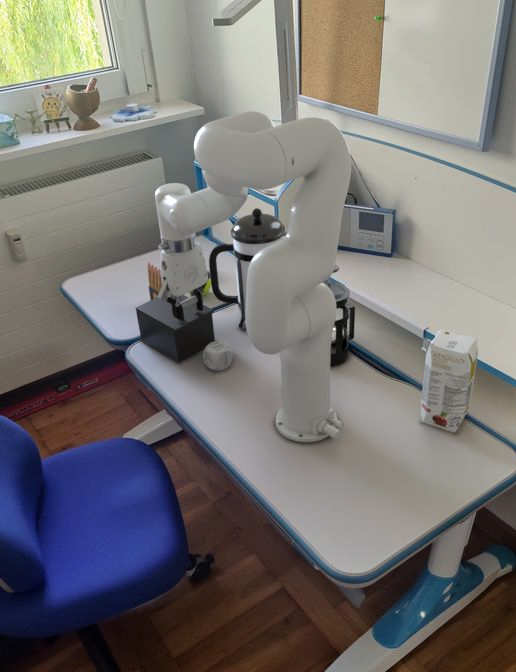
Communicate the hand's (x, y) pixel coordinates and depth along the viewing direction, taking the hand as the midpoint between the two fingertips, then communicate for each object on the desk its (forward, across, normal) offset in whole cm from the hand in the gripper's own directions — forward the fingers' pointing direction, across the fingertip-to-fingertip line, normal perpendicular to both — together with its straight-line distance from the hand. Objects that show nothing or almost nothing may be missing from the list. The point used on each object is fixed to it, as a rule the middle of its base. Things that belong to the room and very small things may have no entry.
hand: (188, 312), depth 153 cm
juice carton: (+11, +17, -58) cm, 61 cm away
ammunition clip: (+11, +8, +22) cm, 26 cm away
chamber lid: (+2, 0, +6) cm, 6 cm away
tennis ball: (+11, +19, +20) cm, 30 cm away
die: (+11, 0, -9) cm, 14 cm away
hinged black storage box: (+11, 0, +6) cm, 12 cm away
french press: (+11, +20, -26) cm, 35 cm away
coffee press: (+11, +20, -2) cm, 23 cm away
